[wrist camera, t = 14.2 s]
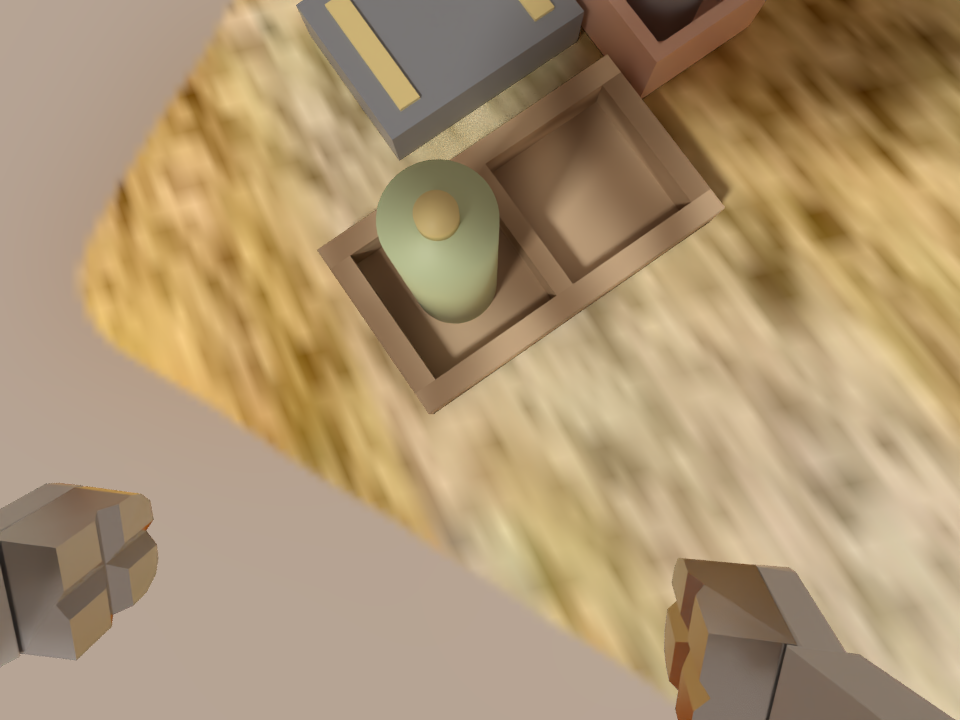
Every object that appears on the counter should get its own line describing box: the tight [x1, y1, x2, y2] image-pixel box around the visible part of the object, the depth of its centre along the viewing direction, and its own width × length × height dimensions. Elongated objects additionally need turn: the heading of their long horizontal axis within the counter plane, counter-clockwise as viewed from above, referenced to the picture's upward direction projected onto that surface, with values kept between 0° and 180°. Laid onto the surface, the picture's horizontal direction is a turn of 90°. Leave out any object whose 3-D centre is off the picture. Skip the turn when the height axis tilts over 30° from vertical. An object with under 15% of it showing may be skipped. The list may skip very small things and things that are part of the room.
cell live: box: [376, 159, 500, 324], centre depth 25 cm, size 4×4×11 cm
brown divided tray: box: [317, 54, 725, 414], centre depth 30 cm, size 18×10×2 cm, turn 125°
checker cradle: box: [296, 0, 584, 161], centre depth 31 cm, size 12×9×3 cm
